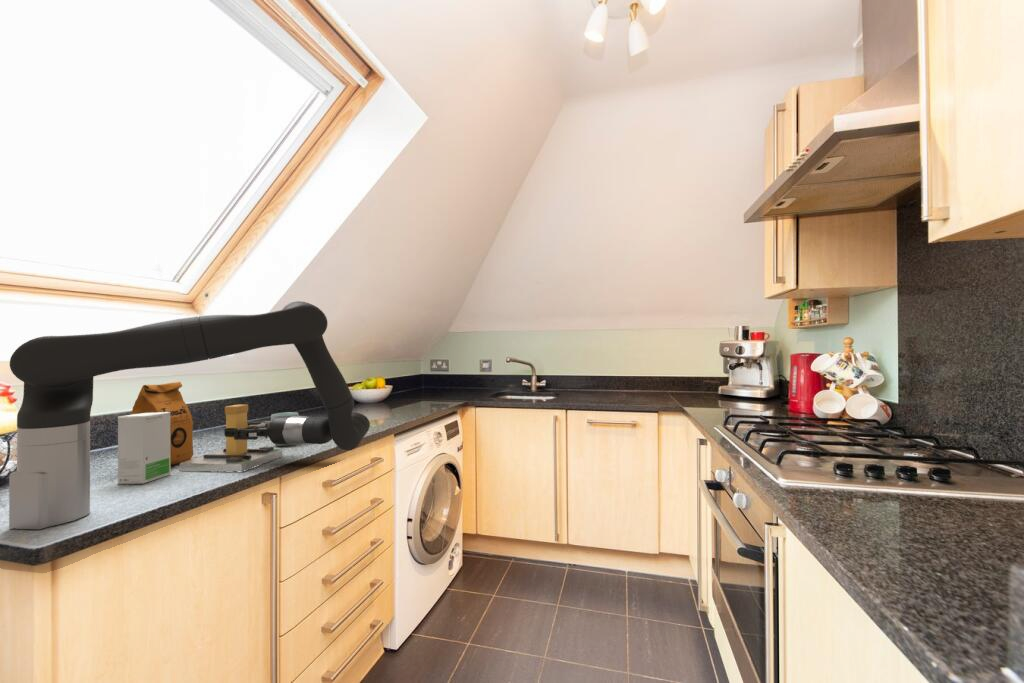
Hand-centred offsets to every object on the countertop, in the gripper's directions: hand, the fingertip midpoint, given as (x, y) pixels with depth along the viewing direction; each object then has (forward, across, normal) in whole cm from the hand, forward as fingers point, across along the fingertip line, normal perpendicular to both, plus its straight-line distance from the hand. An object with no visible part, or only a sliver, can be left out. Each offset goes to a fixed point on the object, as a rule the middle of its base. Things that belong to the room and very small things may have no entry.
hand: (237, 429), depth 119 cm
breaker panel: (0, +1, +9) cm, 9 cm away
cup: (0, -21, +9) cm, 23 cm away
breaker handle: (0, 0, +7) cm, 7 cm away
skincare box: (+11, +16, +9) cm, 22 cm away
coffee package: (+18, +4, +9) cm, 21 cm away
